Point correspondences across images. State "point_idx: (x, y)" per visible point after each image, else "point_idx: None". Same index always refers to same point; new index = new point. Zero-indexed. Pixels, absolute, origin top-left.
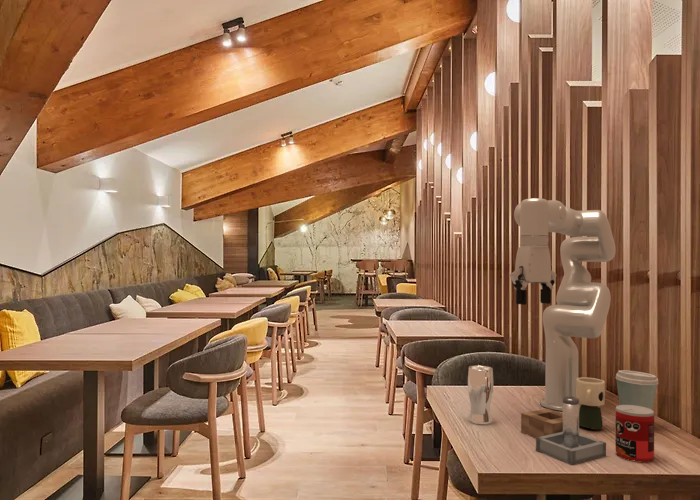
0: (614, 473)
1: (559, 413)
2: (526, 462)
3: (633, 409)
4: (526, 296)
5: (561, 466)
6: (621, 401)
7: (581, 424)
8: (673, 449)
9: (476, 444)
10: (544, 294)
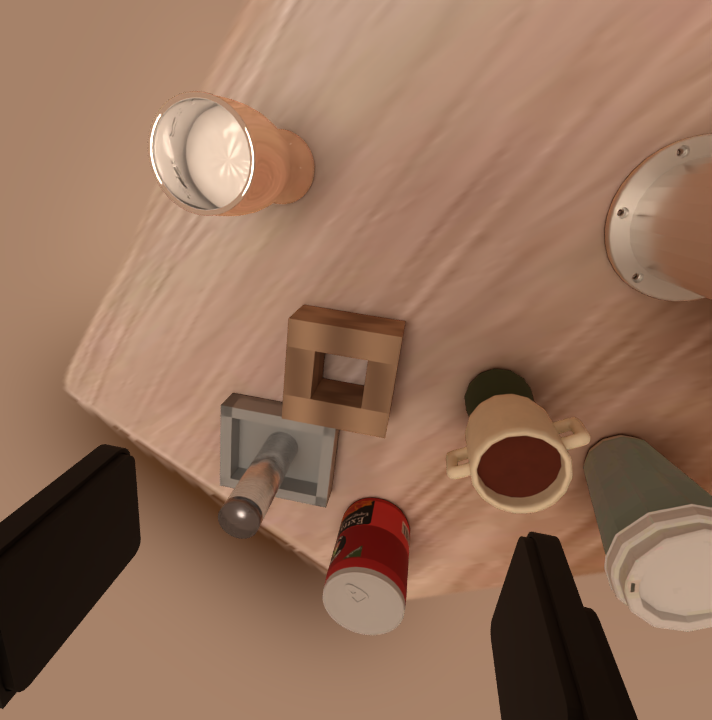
0: (263, 526)
1: (383, 385)
2: (165, 413)
3: (371, 598)
4: (71, 623)
5: (208, 460)
6: (609, 481)
7: (467, 391)
8: (487, 558)
9: (142, 291)
10: (527, 687)
